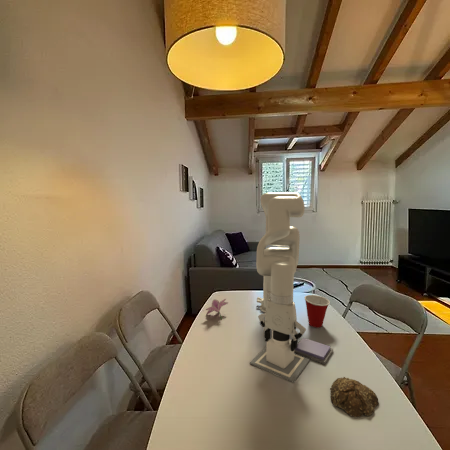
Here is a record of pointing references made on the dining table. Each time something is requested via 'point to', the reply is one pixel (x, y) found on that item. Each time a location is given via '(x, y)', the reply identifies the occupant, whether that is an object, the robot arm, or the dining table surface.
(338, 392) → the bread roll
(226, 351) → the dining table surface
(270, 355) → the medicine bottle
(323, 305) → the plastic cup
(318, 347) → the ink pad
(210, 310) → the lily
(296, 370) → the marked mat
